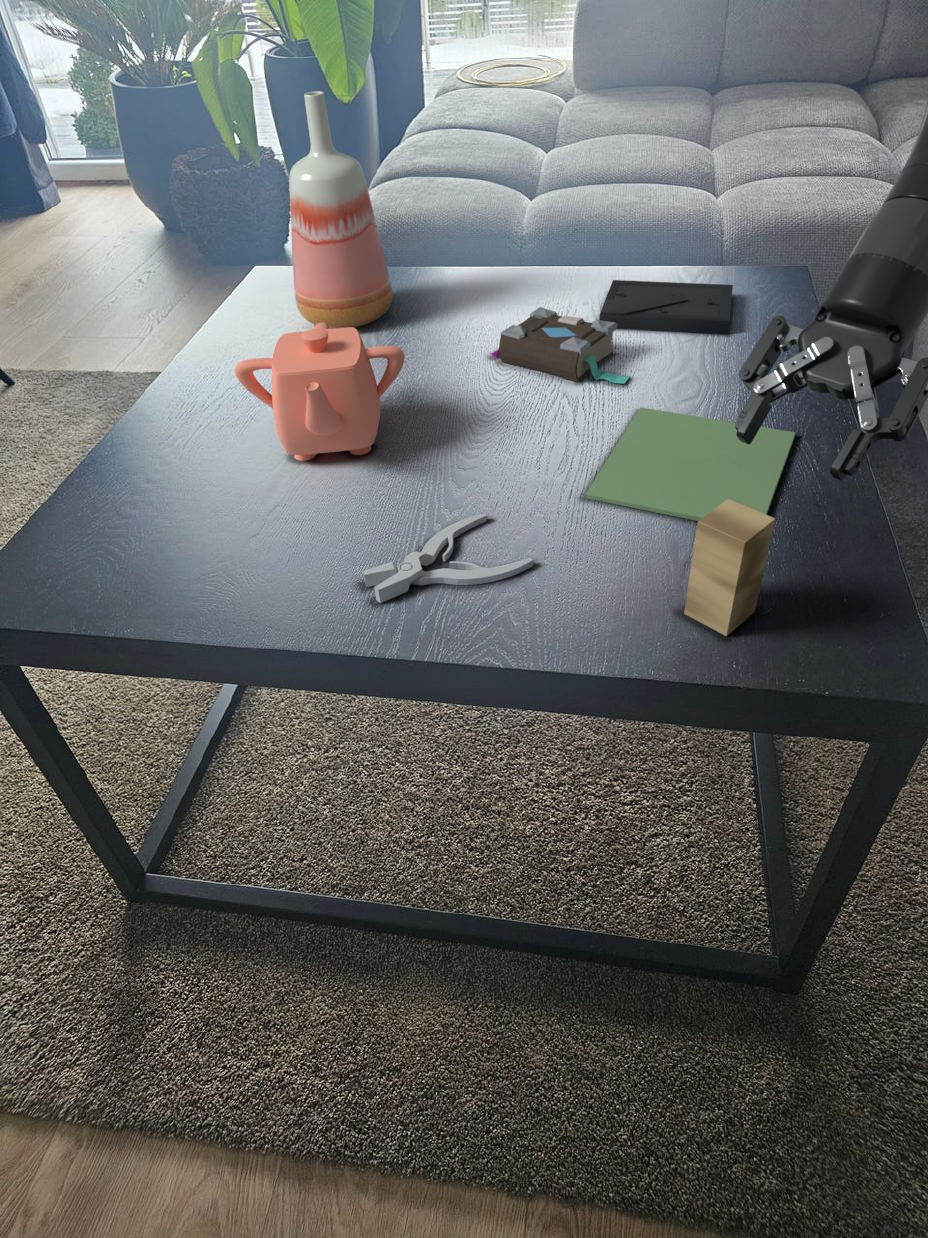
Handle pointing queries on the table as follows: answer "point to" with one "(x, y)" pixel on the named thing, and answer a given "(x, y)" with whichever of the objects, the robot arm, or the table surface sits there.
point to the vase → (334, 233)
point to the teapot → (323, 390)
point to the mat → (690, 466)
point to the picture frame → (668, 306)
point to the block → (728, 565)
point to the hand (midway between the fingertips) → (787, 457)
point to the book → (559, 345)
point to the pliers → (410, 571)
